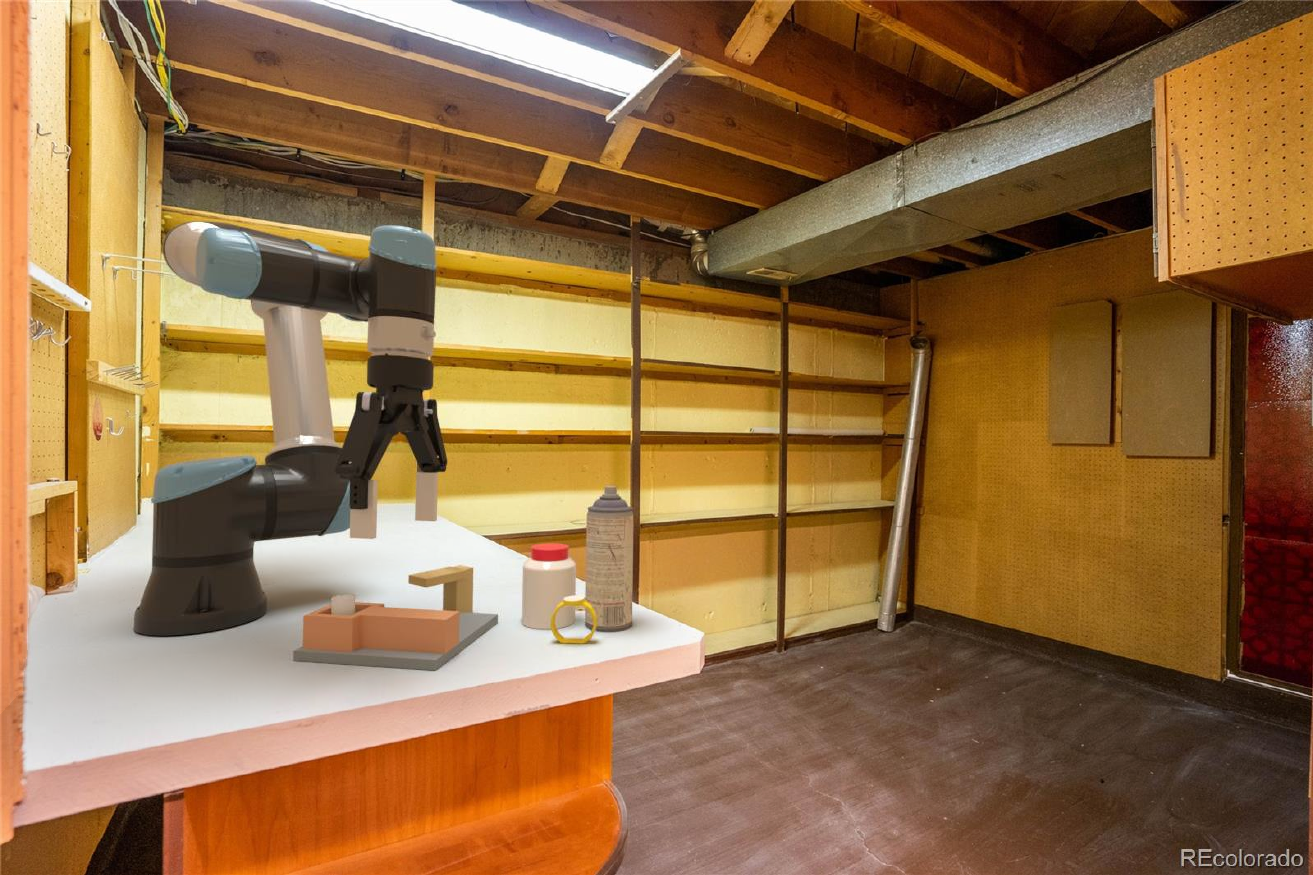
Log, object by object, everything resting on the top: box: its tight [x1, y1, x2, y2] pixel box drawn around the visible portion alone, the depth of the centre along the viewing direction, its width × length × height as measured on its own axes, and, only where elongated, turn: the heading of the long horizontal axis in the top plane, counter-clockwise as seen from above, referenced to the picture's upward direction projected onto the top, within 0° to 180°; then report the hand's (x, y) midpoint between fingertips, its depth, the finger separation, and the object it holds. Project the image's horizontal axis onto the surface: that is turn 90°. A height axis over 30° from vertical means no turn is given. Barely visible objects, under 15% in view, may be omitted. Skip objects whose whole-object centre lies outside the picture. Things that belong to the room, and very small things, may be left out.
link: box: [302, 601, 460, 654], centre depth 72 cm, size 17×6×4 cm, turn 83°
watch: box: [550, 595, 597, 645], centre depth 78 cm, size 6×3×6 cm, turn 91°
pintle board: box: [292, 564, 499, 672], centre depth 79 cm, size 18×22×7 cm
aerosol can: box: [584, 485, 634, 633], centre depth 85 cm, size 7×7×20 cm
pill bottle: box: [521, 542, 577, 630], centre depth 86 cm, size 8×8×11 cm
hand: (397, 528), depth 73 cm, fingers open, 13 cm apart
